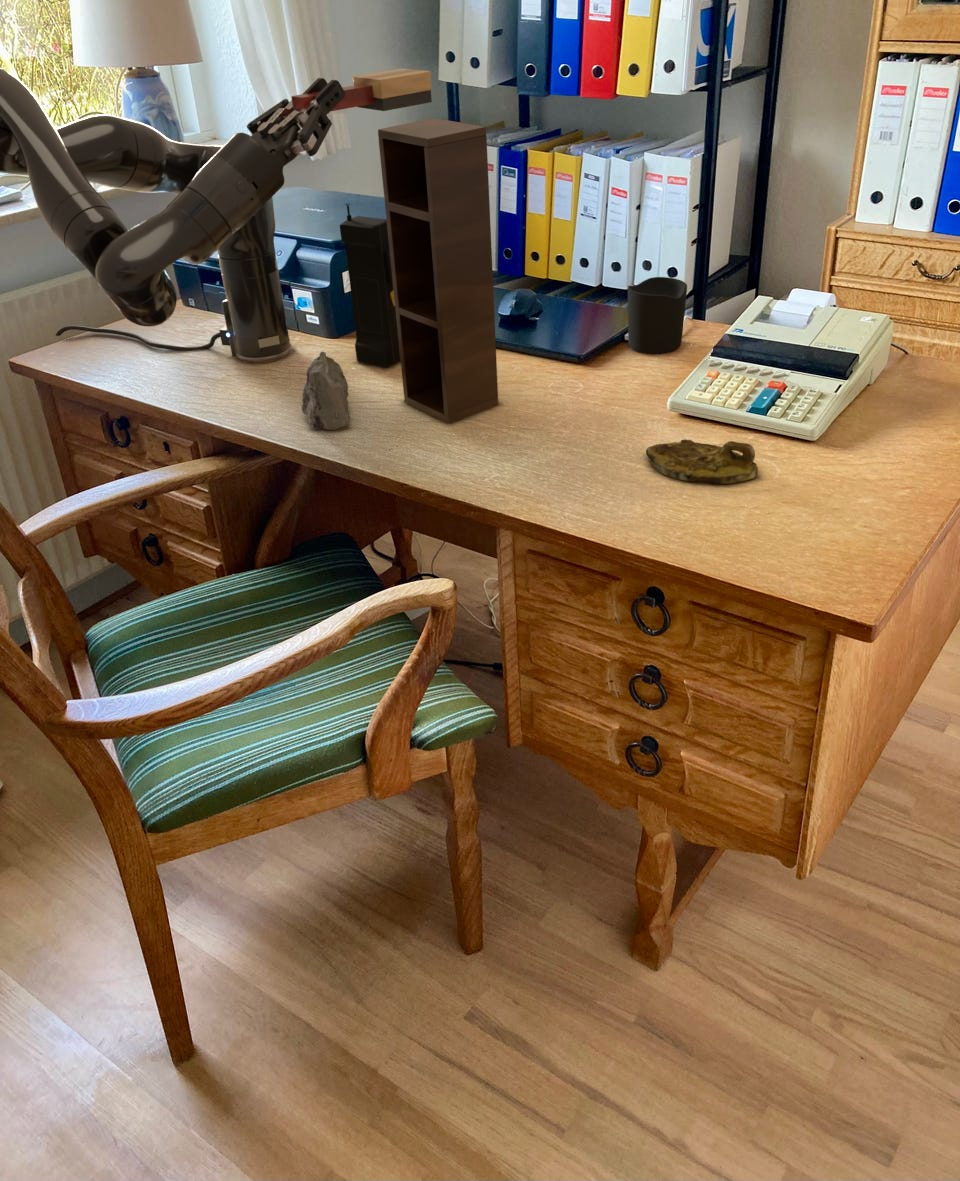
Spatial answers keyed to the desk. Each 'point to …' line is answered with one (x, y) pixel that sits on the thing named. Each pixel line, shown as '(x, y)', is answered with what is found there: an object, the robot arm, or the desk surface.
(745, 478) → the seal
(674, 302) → the pen holder
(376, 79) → the brush
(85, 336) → the desk surface
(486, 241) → the shelf
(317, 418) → the mineral rock
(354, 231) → the portable radio
